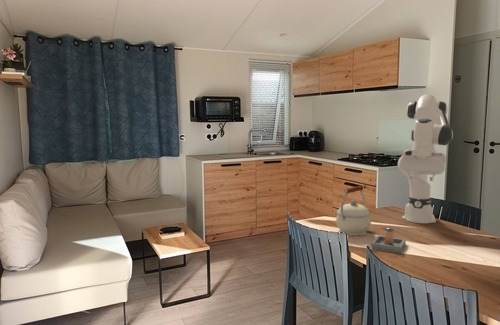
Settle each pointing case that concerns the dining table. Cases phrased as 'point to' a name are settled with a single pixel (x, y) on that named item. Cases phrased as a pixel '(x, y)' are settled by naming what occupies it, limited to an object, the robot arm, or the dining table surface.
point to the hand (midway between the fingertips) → (421, 179)
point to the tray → (397, 245)
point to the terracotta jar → (389, 236)
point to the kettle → (353, 215)
